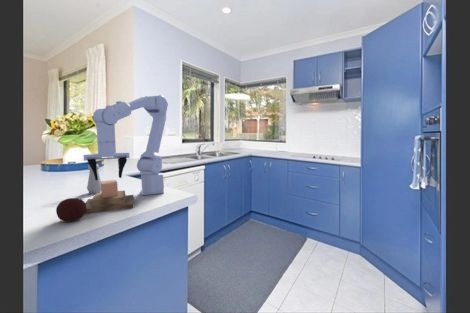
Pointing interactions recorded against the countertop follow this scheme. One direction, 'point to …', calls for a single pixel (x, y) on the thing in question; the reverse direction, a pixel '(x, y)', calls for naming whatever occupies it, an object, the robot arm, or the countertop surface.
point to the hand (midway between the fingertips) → (108, 178)
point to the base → (110, 208)
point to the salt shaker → (93, 181)
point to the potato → (71, 209)
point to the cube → (109, 188)
